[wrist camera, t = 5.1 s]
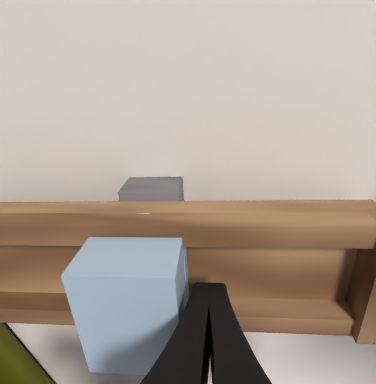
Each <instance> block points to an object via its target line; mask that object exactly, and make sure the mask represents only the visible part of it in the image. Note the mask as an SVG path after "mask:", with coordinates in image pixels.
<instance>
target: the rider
mask: <svg viewBox="0 0 376 384" xmlns="http://www.w3.org/2000/svg"><path fill="white" fill-rule="evenodd" d="M61 278H62V282H63V285H64V288H65V292H66V295H67V298H68V302H69V305H70V308H71V312H72V315H73V318H74V322H75V325H76V328H77V332H78V335H79V338H80V342H81V345H82V348H83V352H84V355H85V358H86V362H87V365H88V368H89V371H90V372H92V373H110V374H129V375H147V373H148V372H149V371H150V369H151V368H152V366H153V365H154V363H155V362H156V360H157V359H158V357H159V356H160V354H161V353H162V351H163V349H164V348H165V346H166V344H167V343H168V341H169V339H170V337H171V335H172V334H173V332H174V330H175V328H176V326H177V324H178V322H179V320H180V318H181V316H182V314H183V312H184V309H185V307H186V305H187V302H188V296H189V285H188V268H187V252H186V247H183V241H182V238H149V237H89V238H88V239H87V240H86V242H85V243H84V245H83V246H82V247H81V249H80V250H79V252H78V253H77V254H76V256H75V257H74V258H73V260H72V261H71V263H70V264H69V265H68V267H67V268H66V269H65V271H64V272H63V274H62V275H61Z"/></svg>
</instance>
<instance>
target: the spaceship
mask: <svg viewBox="0 0 376 384" xmlns="http://www.w3.org/2000/svg"><path fill="white" fill-rule="evenodd" d="M0 384H54V383H53V382H52V380H51V379H50V378H49V377H48V376H47V374H46V373H45V372H44V371H43V370H42V368H41V367H40V366H39V365H38V364H37V362H36V361H35V360H34V359H33V358H32V356H31V355H30V354H29V353H28V352H27V351H26V349H25V348H24V347H23V346H22V345H21V343H20V342H19V341H18V340H17V339H16V337H15V336H14V335H13V334H12V333H11V331H10V330H9V329H8V328H7V327H6V325H5V324H4V323H1V322H0Z"/></svg>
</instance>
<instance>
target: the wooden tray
mask: <svg viewBox="0 0 376 384" xmlns="http://www.w3.org/2000/svg"><path fill="white" fill-rule="evenodd" d="M118 194H119V200H120V202H0V322H1V323H27V324H54V325H75V322H74V318H73V315H72V312H71V308H70V305H69V302H68V298H67V295H66V292H65V288H64V285H63V282H62V278H61V275H62V274H63V272H64V271H65V269H66V268H67V267H68V265H69V264H70V263H71V261H72V260H73V258H74V257H75V256H76V254H77V253H78V252H79V250H80V249H81V247H82V246H83V245H84V243H85V242H86V240H87V239H88V238H89V237H149V238H182V241H183V247H186V252H187V268H188V285H189V296H188V300H189V297H190V294H191V291H192V288H193V284H194V283H196V282H212V283H224V284H225V285H226V288H227V292H228V296H229V299H230V302H231V305H232V308H233V311H234V313H235V316H236V318H237V320H238V322H239V325H240V327H241V329H242V331H243V332H266V333H293V334H319V335H346V336H353V338H354V340H355V342H356V343H359V344H375V342H376V203H375V202H374V201H373V200H273V201H184V195H183V178H182V177H144V178H129V179H128V180H127V181H126V183H125V184H124V185H123V187H122V188H121V189H120V191H119V192H118Z"/></svg>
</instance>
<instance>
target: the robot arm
mask: <svg viewBox="0 0 376 384" xmlns="http://www.w3.org/2000/svg"><path fill="white" fill-rule="evenodd" d="M210 359H211V372H212V384H272V383H271V382H270V380H269V379H268V377H267V375H266V374H265V372H264V370H263V369H262V367H261V365H260V364H259V362H258V360H257V358H256V357H255V355H254V353H253V351H252V349H251V347H250V345H249V344H248V342H247V340H246V338H245V336H244V334H243V331H242V329H241V327H240V325H239V322H238V320H237V318H236V316H235V313H234V311H233V308H232V305H231V302H230V299H229V296H228V292H227V288H226V285H225V284H224V283H212V282H196V283H194V284H193V288H192V291H191V294H190V297H189V300H188V302H187V305H186V307H185V309H184V312H183V314H182V316H181V318H180V320H179V322H178V324H177V326H176V328H175V330H174V332H173V334H172V335H171V337H170V339H169V341H168V343H167V344H166V346H165V348H164V349H163V351H162V353H161V354H160V356H159V357H158V359H157V360H156V362H155V363H154V365H153V366H152V368H151V369H150V371H149V372H148V373H147V375H146V376H145V378H144V379H143V380H142V382H141V383H140V384H207V382H208V372H209V361H210Z"/></svg>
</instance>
